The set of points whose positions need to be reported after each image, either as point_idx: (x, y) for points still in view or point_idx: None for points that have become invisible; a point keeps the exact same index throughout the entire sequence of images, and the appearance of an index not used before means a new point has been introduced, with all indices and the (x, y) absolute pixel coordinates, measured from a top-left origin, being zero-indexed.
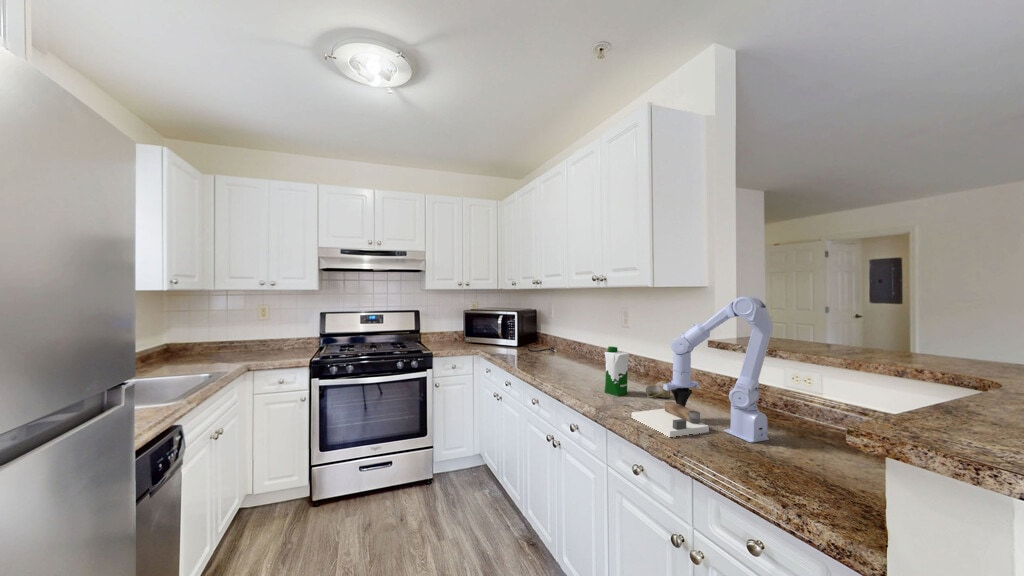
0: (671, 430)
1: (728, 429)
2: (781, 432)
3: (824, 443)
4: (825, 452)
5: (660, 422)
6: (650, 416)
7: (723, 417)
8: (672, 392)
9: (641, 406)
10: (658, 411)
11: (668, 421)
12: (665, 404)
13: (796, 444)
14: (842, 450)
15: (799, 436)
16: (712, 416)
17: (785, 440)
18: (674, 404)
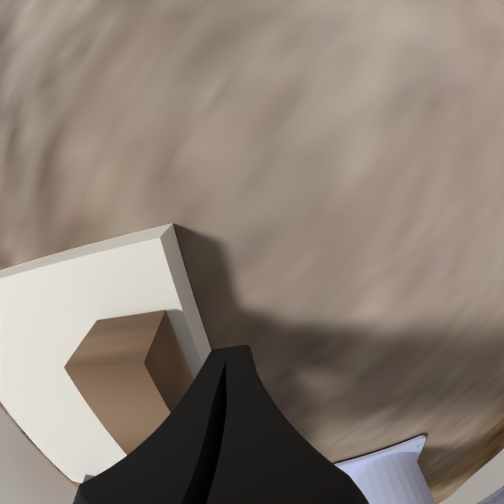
0: (78, 479)
1: (355, 464)
2: (495, 422)
3: (490, 452)
4: (438, 489)
5: (46, 434)
6: (6, 372)
7: (499, 309)
8: (113, 474)
9: (61, 37)
10: (53, 310)
11: (80, 440)
12: (76, 359)
13: (436, 477)
14: (475, 471)
15: (497, 433)
16: (472, 295)
17: (442, 467)
18: (138, 429)
